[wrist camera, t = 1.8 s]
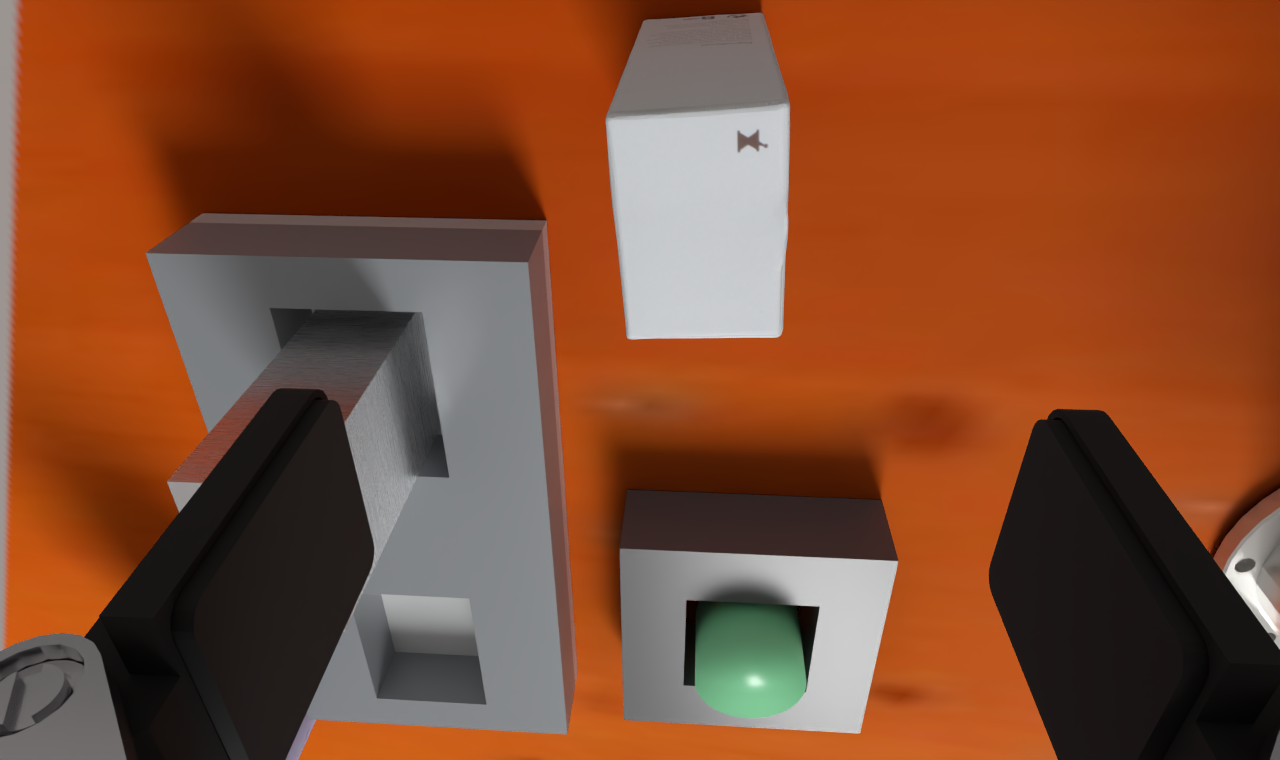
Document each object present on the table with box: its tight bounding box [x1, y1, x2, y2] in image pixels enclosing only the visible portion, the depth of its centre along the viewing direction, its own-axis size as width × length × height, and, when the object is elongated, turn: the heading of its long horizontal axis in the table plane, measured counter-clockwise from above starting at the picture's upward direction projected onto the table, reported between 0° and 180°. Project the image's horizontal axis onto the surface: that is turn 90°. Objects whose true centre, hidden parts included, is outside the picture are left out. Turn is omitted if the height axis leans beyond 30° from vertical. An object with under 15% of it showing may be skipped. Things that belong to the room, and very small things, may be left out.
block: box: [167, 309, 441, 632], centre depth 30 cm, size 4×6×12 cm, turn 0°
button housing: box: [620, 490, 898, 733], centre depth 41 cm, size 12×12×4 cm
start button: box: [695, 601, 806, 718], centre depth 39 cm, size 5×5×4 cm
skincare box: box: [606, 13, 790, 339], centre depth 25 cm, size 6×4×12 cm
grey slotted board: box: [146, 213, 577, 734], centre depth 38 cm, size 14×27×4 cm, turn 0°
